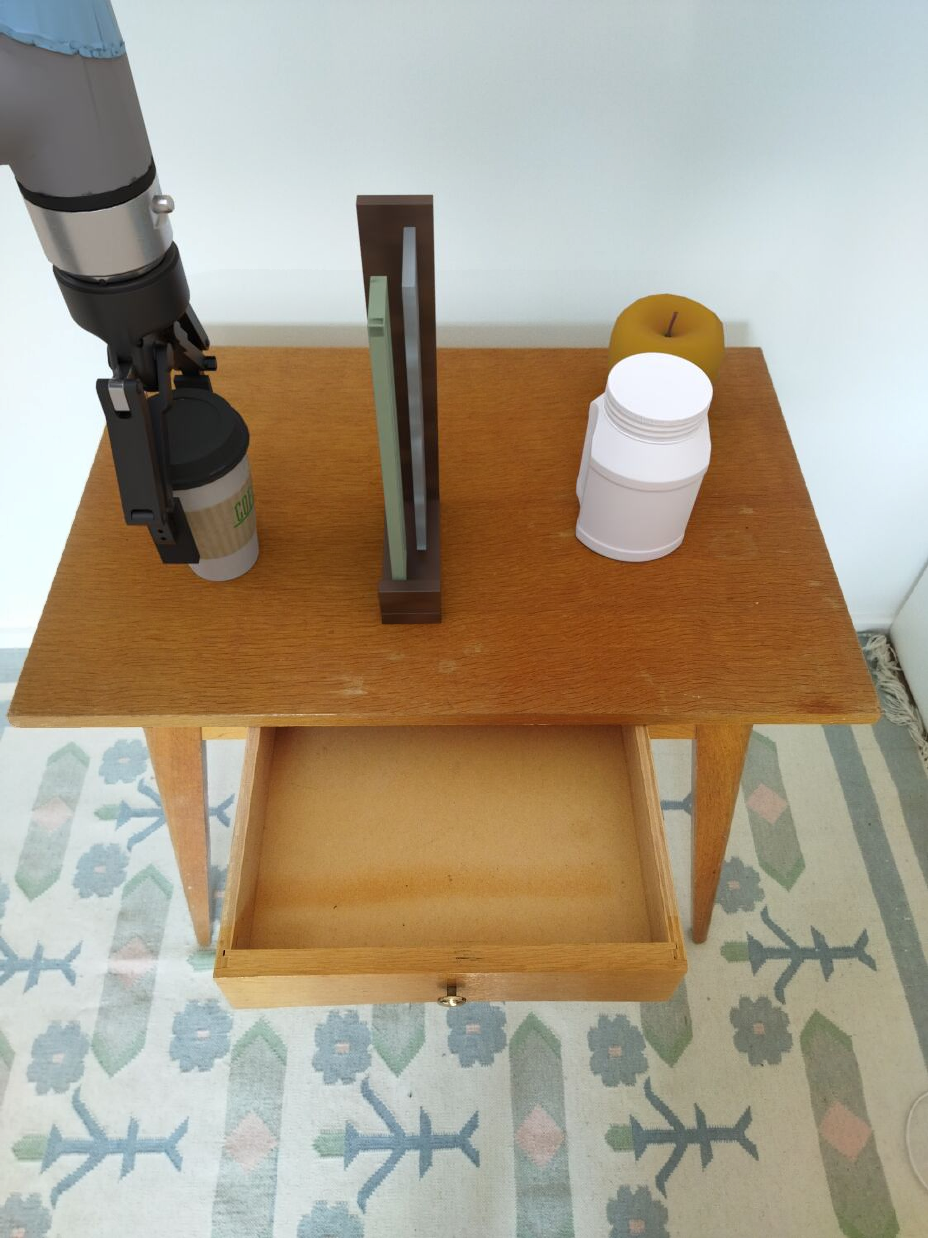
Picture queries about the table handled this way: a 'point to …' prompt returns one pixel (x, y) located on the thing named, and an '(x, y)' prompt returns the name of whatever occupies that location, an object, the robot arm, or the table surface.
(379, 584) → the window frame
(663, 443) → the jar
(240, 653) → the table surface
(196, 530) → the coffee cup
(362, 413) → the table surface
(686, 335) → the apple
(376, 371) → the window sash
